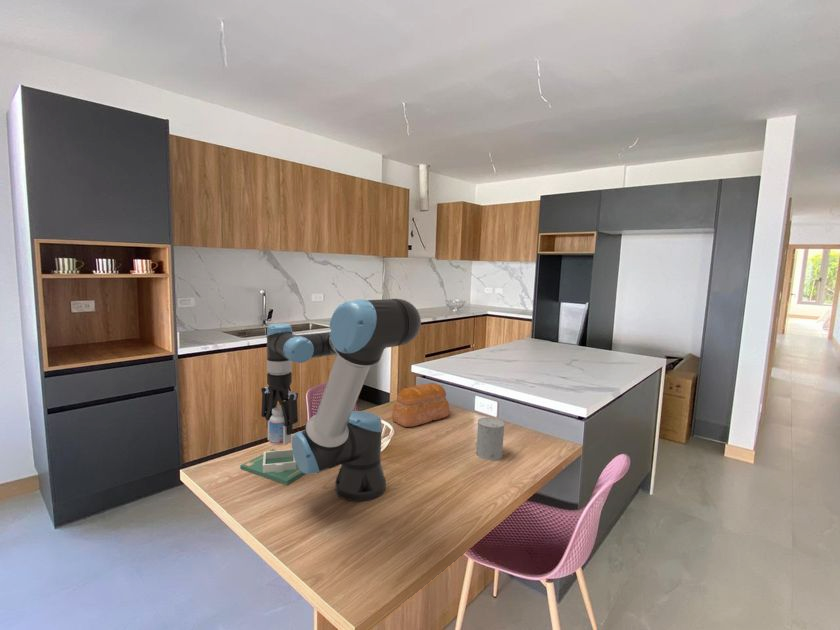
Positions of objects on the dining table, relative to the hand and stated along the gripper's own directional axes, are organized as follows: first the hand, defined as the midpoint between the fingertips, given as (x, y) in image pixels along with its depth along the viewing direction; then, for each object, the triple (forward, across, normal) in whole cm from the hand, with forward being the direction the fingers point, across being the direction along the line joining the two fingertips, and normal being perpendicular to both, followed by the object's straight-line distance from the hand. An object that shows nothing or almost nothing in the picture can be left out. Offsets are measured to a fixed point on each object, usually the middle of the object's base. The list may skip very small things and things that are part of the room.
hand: (279, 440), depth 138 cm
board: (+9, 0, 0) cm, 9 cm away
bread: (+10, -20, -65) cm, 68 cm away
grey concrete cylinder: (+9, -57, -46) cm, 74 cm away
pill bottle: (+1, 0, 0) cm, 1 cm away
